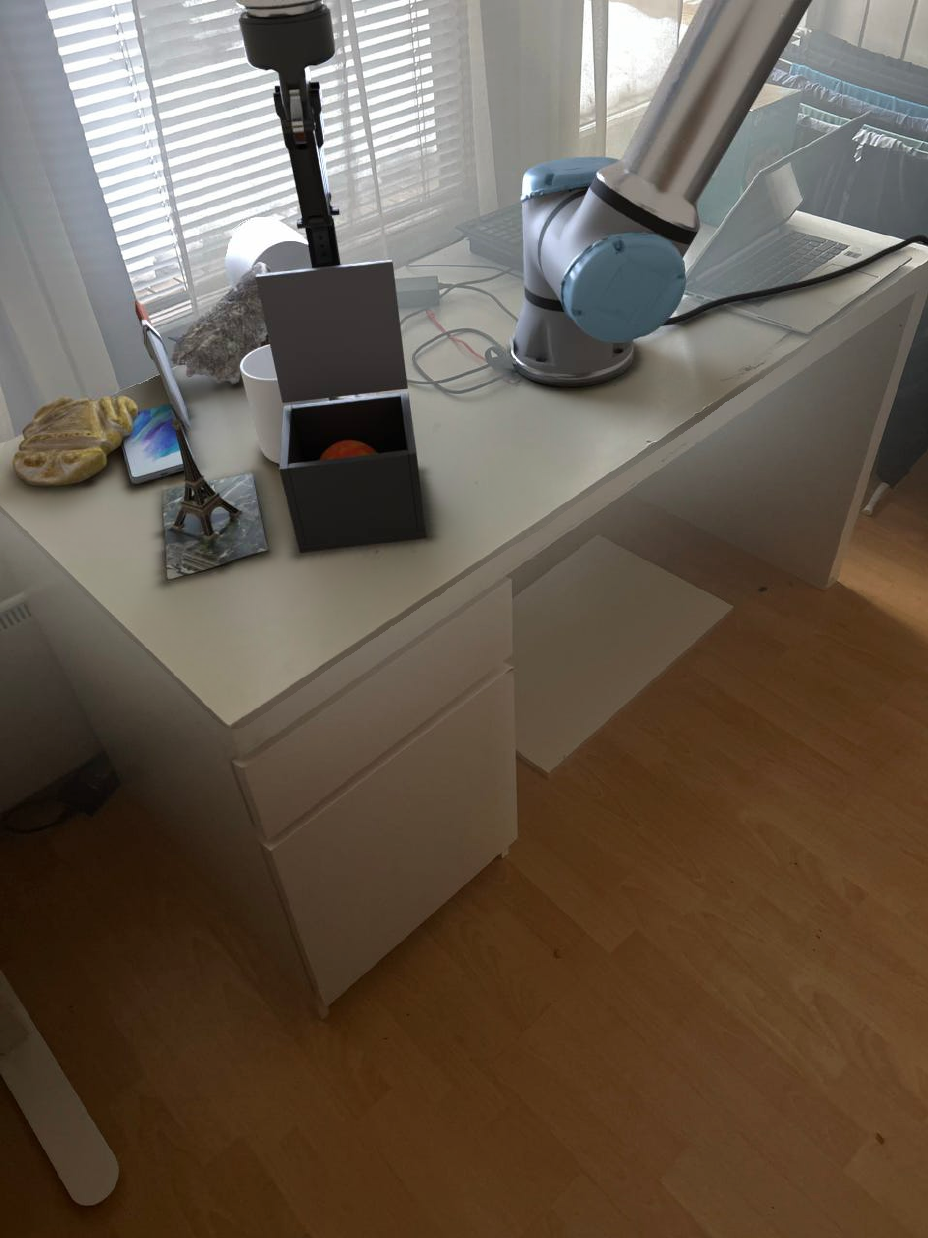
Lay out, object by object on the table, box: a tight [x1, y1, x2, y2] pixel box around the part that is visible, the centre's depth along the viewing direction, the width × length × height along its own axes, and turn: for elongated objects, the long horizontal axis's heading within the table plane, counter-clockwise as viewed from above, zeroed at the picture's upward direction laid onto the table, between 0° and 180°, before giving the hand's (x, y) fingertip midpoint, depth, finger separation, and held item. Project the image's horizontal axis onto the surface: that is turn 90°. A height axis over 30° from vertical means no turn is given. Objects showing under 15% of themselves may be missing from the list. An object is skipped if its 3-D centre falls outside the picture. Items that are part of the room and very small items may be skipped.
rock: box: [169, 262, 271, 385], centre depth 116 cm, size 19×7×10 cm
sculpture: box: [12, 395, 139, 487], centre depth 104 cm, size 13×4×15 cm
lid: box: [256, 259, 409, 403], centre depth 87 cm, size 12×13×1 cm
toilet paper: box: [225, 216, 312, 289], centre depth 126 cm, size 12×12×12 cm
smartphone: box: [120, 403, 196, 485], centre depth 105 cm, size 7×1×15 cm
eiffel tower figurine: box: [161, 409, 268, 581], centre depth 89 cm, size 15×10×13 cm
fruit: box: [319, 440, 378, 460], centre depth 91 cm, size 7×7×8 cm
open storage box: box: [278, 391, 427, 554], centre depth 90 cm, size 12×13×10 cm
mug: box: [240, 345, 359, 465], centre depth 100 cm, size 9×12×11 cm
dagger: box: [134, 300, 191, 430], centre depth 115 cm, size 7×2×30 cm
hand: (330, 289), depth 90 cm, fingers closed
